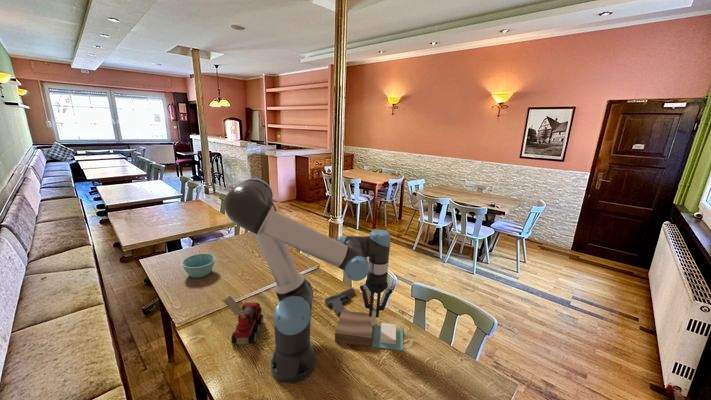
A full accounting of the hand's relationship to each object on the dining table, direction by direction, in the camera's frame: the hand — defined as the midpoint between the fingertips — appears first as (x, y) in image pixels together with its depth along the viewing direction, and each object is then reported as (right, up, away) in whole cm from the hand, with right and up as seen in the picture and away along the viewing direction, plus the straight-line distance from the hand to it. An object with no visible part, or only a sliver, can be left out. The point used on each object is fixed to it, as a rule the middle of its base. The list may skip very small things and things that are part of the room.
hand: (373, 323), depth 114 cm
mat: (+6, -6, 0) cm, 8 cm away
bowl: (-90, +9, +40) cm, 99 cm away
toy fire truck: (-51, -4, -1) cm, 51 cm away
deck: (-7, -4, +2) cm, 9 cm away
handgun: (-12, 0, +21) cm, 24 cm away
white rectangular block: (+6, -3, 0) cm, 7 cm away
